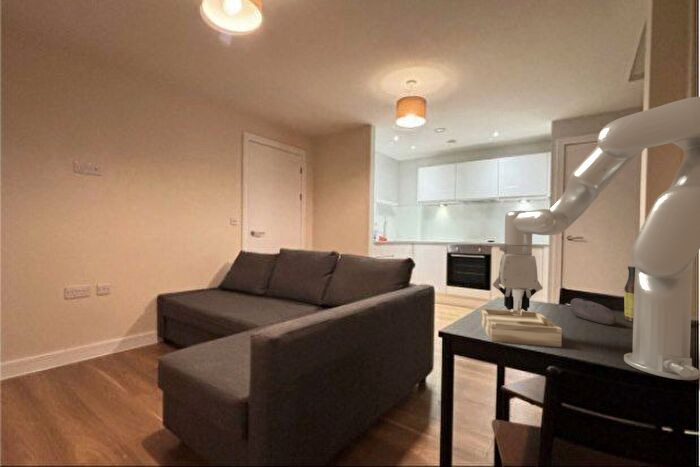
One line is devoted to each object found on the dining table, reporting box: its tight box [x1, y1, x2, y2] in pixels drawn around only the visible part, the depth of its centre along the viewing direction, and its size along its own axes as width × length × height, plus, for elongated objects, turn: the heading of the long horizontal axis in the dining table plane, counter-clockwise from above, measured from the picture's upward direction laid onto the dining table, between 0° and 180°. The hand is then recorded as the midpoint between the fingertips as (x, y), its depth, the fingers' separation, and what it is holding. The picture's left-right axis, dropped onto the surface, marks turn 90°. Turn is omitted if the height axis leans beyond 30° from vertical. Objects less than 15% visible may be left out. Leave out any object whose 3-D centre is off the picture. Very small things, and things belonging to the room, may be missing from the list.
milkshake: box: [509, 288, 525, 316], centre depth 96 cm, size 4×5×10 cm
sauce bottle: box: [623, 265, 635, 323], centre depth 111 cm, size 7×6×20 cm
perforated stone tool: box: [569, 297, 617, 325], centre depth 111 cm, size 15×5×7 cm, turn 13°
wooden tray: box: [479, 307, 563, 348], centre depth 96 cm, size 18×18×6 cm
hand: (516, 308), depth 96 cm, fingers closed on milkshake, 4 cm apart
